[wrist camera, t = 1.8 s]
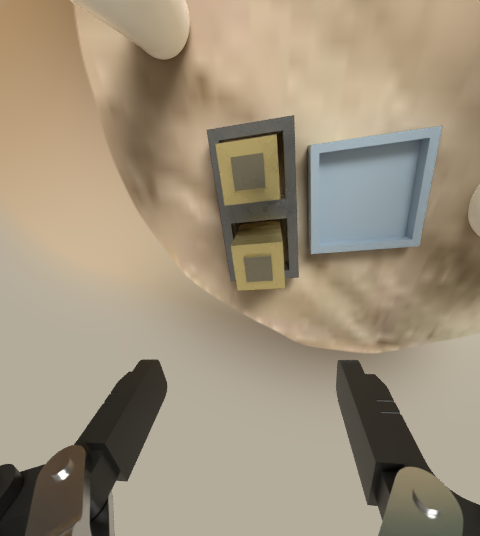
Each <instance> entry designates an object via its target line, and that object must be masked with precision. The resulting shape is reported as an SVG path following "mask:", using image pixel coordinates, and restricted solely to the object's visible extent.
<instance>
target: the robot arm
mask: <svg viewBox="0 0 480 536" xmlns="http://www.w3.org/2000/svg"><path fill="white" fill-rule="evenodd" d="M336 391H337V397H338V402H339V406H340V409H341V413H342V416H343V420H344V423H345V427H346V430H347V434H348V437H349V441H350V444H351V448H352V452H353V455H354V458H355V462H356V466H357V469H358V473H359V476H360V480H361V483H362V487H363V490H364V494H365V497H366V501H367V504H368V505H374V506H378V508H379V511H380V514H381V517H382V525H381V528H380V531H379V534H378V536H480V505H478V504H476V503H473V502H471V501H469V500H466V499H464V498H462V497H461V496H459V495H457V494H456V493H454V492H453V491H451V490H450V489H449V488H447V487H446V486H445V485H444V483H442V482H441V481H440V480H439V479H438V478H437V477H436V476H435V475H434V474H433V472H432V471H431V470H430V468H429V467H428V465H427V463H426V462H425V460H424V458H423V456H422V454H421V452H420V450H419V448H418V446H417V444H416V442H415V440H414V438H413V436H412V435H411V433H410V431H409V429H408V427H407V425H406V423H405V421H404V419H403V417H402V415H400V411H399V409H398V407H397V406H396V404H395V403H394V400H393V398H392V396H391V394H390V392H389V390H388V388H387V386H386V385H385V384H384V383H383V382H382V381H381V380H380V379H379V378H378V377H377V376H376V375H374V374H365V373H364V371H363V369H362V367H361V364H360V363H359V361H358V360H338V364H337V382H336ZM166 392H167V381H166V379H165V376H164V373H163V370H162V367H161V365H160V362H159V361H158V360H141V361H139V362H138V364H137V365H136V367H135V369H134V370H133V371H132V372H128V373H127V374H126V375H125V376H124V377H123V378H122V379H120V381H118V383H117V384H116V386H115V387H114V388H113V390H112V391H111V394H109V396H108V397H107V399H106V400H105V403H104V404H103V405H102V406H101V407H100V409H99V410H98V411H97V413H96V414H95V416H94V417H93V419H92V420H91V422H90V423H89V424H88V426H87V427H86V429H85V430H84V432H83V433H82V435H81V436H80V437H79V439H78V440H77V442H76V443H75V444H74V445H71V446H69V447H66V448H64V449H62V450H61V451H59V452H58V453H56V454H55V455H54V456H53V457H52V458H51V459H50V460H49V461H48V462H47V463H46V464H45V465H41V466H38V467H35V468H31V469H28V470H25V471H22V472H19V471H18V470H17V469H16V468H15V467H14V465H12V464H5V465H1V466H0V536H115V533H114V512H113V495H112V491H111V490H112V488H113V486H114V483H115V482H116V481H128V479H129V476H130V474H131V472H132V470H133V467H134V465H135V463H136V461H137V459H138V456H139V454H140V452H141V449H142V447H143V445H144V443H145V441H146V439H147V436H148V434H149V432H150V429H151V427H152V425H153V423H154V421H155V418H156V416H157V414H158V412H159V410H160V407H161V405H162V403H163V401H164V398H165V396H166Z"/></svg>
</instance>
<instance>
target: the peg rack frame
mask: <svg viewBox="0 0 480 536" xmlns="http://www.w3.org/2000/svg"><path fill="white" fill-rule="evenodd" d="M280 133H282V144H283V165H284V186H285V195H282V196H280V199H279V200H270V201H261V202H252V203H244V204H235V205H226V206H225V205H224V198H223V191H222V185H221V178H220V171H219V165H218V158H217V151H216V145H215V144H219V143H224V142H229V141H236V140H242V139H248V138H255V137H261V136H267V135H274V134H280ZM207 135H208V141H209V147H210V154H211V160H212V166H213V172H214V179H215V185H216V191H217V197H218V204H219V210H220V216H221V222H222V228H223V235H224V241H225V247H226V253H227V260H228V266H229V272H230V278H231V281H236V278H235V271H234V264H233V258H232V251H231V245H232V242H233V240H234V238H235V236H236V228H235V223H242V222H252V221H262V220H273V219H283V218H286V228H287V249H288V262H284V275H285V278H297V277H299V270H298V235H297V200H296V165H295V130H294V115H293V116H287V117H281V118H275V119H269V120H263V121H257V122H251V123H245V124H239V125H233V126H228V127H222V128H216V129H210V130H207Z"/></svg>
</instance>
